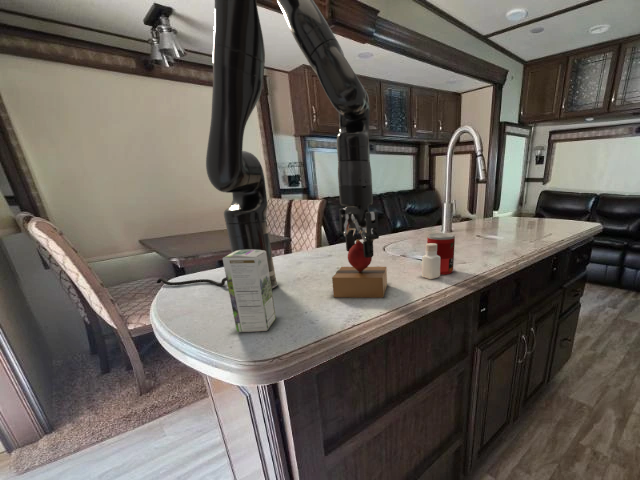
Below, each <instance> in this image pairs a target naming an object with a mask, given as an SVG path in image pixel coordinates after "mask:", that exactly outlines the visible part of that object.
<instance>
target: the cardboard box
mask: <svg viewBox="0 0 640 480" xmlns="http://www.w3.org/2000/svg"><path fill="white" fill-rule="evenodd" d="M387 267H388V266H368V267H367V268H365V269H364V270H363V271H361V272H359V271H357V270H356V269H355V268H354V267H353V266H341V267H340V268H339V269H338V270H337V271H336V272H335V274H334V275H333V276H332V277H331V281H332V283H331V284H332V293H333V298H351V299H352V298H353V299H355V298H359V299H360V298H361V299H363V298H367V299H368V298H371V299H372V298H374V299H377V298H378V299H381V298H382V299H383V298H384V296H385V293H386V290H387V286H388V273H387V271H388V269H387Z"/></svg>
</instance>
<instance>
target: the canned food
mask: <svg viewBox="0 0 640 480" xmlns="http://www.w3.org/2000/svg"><path fill="white" fill-rule="evenodd" d="M455 239H456V235H455V234H452V233H445V232H436V233H435V232H434V233H429V234H427V241H426V244H428V243H435V244H437V255H438V256H440V276H441V275H443V276H445V275H450V274H452V273H453V272H454V264H455V244H456V240H455Z"/></svg>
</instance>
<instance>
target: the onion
mask: <svg viewBox="0 0 640 480" xmlns="http://www.w3.org/2000/svg"><path fill="white" fill-rule="evenodd" d="M372 258H373V257H369V258H366V257H364V250H363V241H361V240H360V239H359V238H357V239H356V238H355V244H354V245H353V246H352V247H351V248H350V250H349V252H348V251H347V260H348V263H349V265H350V267H354V268H355V269H356V270H357V271H359V272H361V271H363V270H364V269H365V268H367V267H370V265H371V263H372V260H373V259H372Z"/></svg>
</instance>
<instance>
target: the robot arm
mask: <svg viewBox="0 0 640 480" xmlns="http://www.w3.org/2000/svg"><path fill="white" fill-rule="evenodd" d="M276 2H277V5H278V6H279V8H280V10H281V12H282V13H283V16H284V19H285V21H286V24H287V26H288V28H289V30H290V32H291V34H292V37H293V39H294V41H295V42H296V44H297V46H298V47H299V49H300V51H301V53H302V54H303V56H304V58H305V59H306V61H307V62H308V64H309V66H310V67H311V69H312V70H313V71H314V73H315V74H316V76H317V78H318V80H319V83H320V85H321V87H322V89H323V91H324V93H325V94H326V96H327V99H328V100H329V102H330V103H331V105H332V107H333V108H334V109H335V111H337V112H338V120H339V121H338V123H339V125H338V126H339V132H338V133H337V136H336V155H337V180H338V181H337V182H338V196H339V205H341V206H342V207H343V208H339V209H338V213H339V214H338V219H339V232H340V233H341V234H343V236H344V237H345V250H346V251H347V253H348V252H349V250H350V248H351V247H352V246H353V245H354V244H356V237H355V234H356V231H357V233H358V234H359V235H360V236H361V239H362V240H363V241H362V243H363V250H364V257H366V258H369V257H372V258H373V256H374V241H375V240H379V238H380V232H379V230H380V229H379V216H378V212H377V211H370V210H369V206H371V205H373V204H374V203H373V202H374V198H373V174H372V166H371V156H370V154H371V153H370V139H369V134H370V133H369V132H370V131H369V130H370V119H371V118H370V117H371V108H370V106H371V105H370V97H369V95H368V92H367V90H366V89H365V87H364V85H363V83H362V82H361V81H360V79H359V77H358V76H357V75H356V73H355V71H354V69H353V68H352V66H351V64H350V63H349V61H348V59H347V58H346V57H345V54H344V51H343V49H342V47H341V45H340V43H339V41H338V39H337V37H336V36H335V34H334V32H333V30H332V29H331V28H330V25H329V24H328V22H327V20H326V18H325V17H324V15H323V14H322V12H321V10H320V9H319V6H318V5H317V4H316V3H315V1H314V0H276ZM258 9H259V8H258V4H257V0H214V26H213V30H214V31H213V46H212V93H211V95H212V96H211V115H210V126H209V133H208V140H207V148H206V156H205V169H206V175H207V178H208V180H209V182H210V184H211V185H212V186H213V187H214V189H216V190H217V191H219V192H221V193H226V194H230V193H231V196H232V200H231V203H230V205H229V206H227V208H225V209H224V210H223V219H224V223H225V228H226V233H227V238H228V242H229V246H230V252H231V253H233V252H235V251H238V250H264V251H266V255H267V261H268V268H269V275H270V281H271V288H272V290H274V289H276V288H277V286H278V282H277V277H276V271H275V266H274V259H273V254H272V252H273V251H272V247H271V241H270V234H269V227H268V222H267V210H268V197H267V188H266V187H267V186H266V179H265V178H266V177H265V173H264V169H263V167H262V164H261V161H259V159H258V158H257V156H255V155H254V154H253V153H252V152H249V151H246V150H243V147H244V144H243V143H244V135H245V129H246V127H247V123H248V121H249V118H250V117H251V115H252V113H253V111H254V109H255V107H256V106H257V104H258V102H259V99H260V98H261V94H262V92H263V86H264V77H265V63H266V50H265V49H266V48H265V42H264V34H263V30H262V26H261V21H260V15H259V10H258ZM226 282H227V279H226V277H223V278H222V279H221V282H217V281H215V280H213V279H209V278H208V279H207V278H201V279H191V280H185V281H168V280H166V279H165V278H164V277H160V278H158V279H157V281H156V284H161V283H163V284H164V285H167V286H184V285H191V284H197V283H209V284H212V285H214V286H217V287H218V286H219V287H223V286H224V285H225V284H226Z"/></svg>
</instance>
